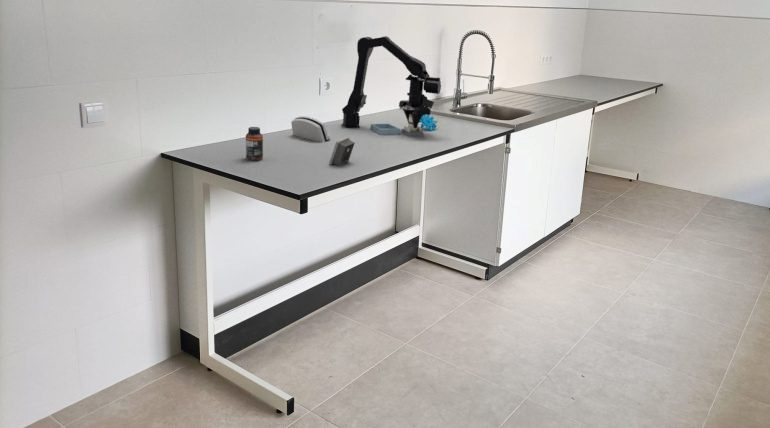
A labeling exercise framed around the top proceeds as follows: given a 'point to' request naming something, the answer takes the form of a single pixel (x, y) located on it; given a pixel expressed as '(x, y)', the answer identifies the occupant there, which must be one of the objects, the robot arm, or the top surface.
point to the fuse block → (412, 132)
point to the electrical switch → (342, 151)
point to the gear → (428, 122)
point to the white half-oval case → (309, 129)
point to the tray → (385, 129)
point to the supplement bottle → (254, 144)
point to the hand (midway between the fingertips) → (412, 127)
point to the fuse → (411, 124)
